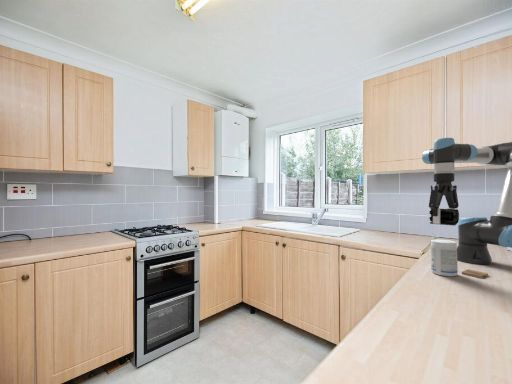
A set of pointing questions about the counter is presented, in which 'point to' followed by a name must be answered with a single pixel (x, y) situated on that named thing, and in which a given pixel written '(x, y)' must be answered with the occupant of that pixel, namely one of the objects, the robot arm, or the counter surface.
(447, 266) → the supplement tub
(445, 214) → the end cap
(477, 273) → the oak coaster
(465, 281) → the counter surface
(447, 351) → the counter surface
